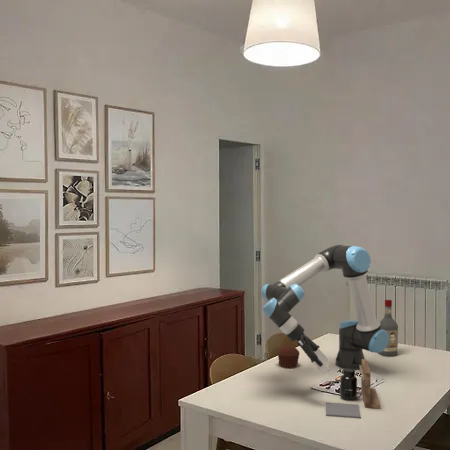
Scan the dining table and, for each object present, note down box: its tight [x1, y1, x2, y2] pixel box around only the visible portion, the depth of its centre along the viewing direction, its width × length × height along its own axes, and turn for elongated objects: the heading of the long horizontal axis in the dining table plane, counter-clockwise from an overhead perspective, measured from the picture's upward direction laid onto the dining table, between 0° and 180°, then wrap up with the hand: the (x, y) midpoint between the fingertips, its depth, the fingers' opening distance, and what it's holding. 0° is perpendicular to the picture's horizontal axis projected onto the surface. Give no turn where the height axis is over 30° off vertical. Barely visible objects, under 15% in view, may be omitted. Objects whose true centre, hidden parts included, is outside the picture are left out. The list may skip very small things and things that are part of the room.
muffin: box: [276, 345, 300, 369], centre depth 271 cm, size 12×11×10 cm
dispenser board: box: [359, 358, 381, 409], centre depth 224 cm, size 7×20×14 cm, turn 170°
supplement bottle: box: [339, 368, 358, 401], centre depth 225 cm, size 7×7×12 cm
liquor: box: [377, 299, 399, 358], centre depth 293 cm, size 9×9×30 cm
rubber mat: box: [325, 401, 362, 419], centre depth 211 cm, size 13×13×1 cm
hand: (327, 366), depth 226 cm, fingers open, 13 cm apart
